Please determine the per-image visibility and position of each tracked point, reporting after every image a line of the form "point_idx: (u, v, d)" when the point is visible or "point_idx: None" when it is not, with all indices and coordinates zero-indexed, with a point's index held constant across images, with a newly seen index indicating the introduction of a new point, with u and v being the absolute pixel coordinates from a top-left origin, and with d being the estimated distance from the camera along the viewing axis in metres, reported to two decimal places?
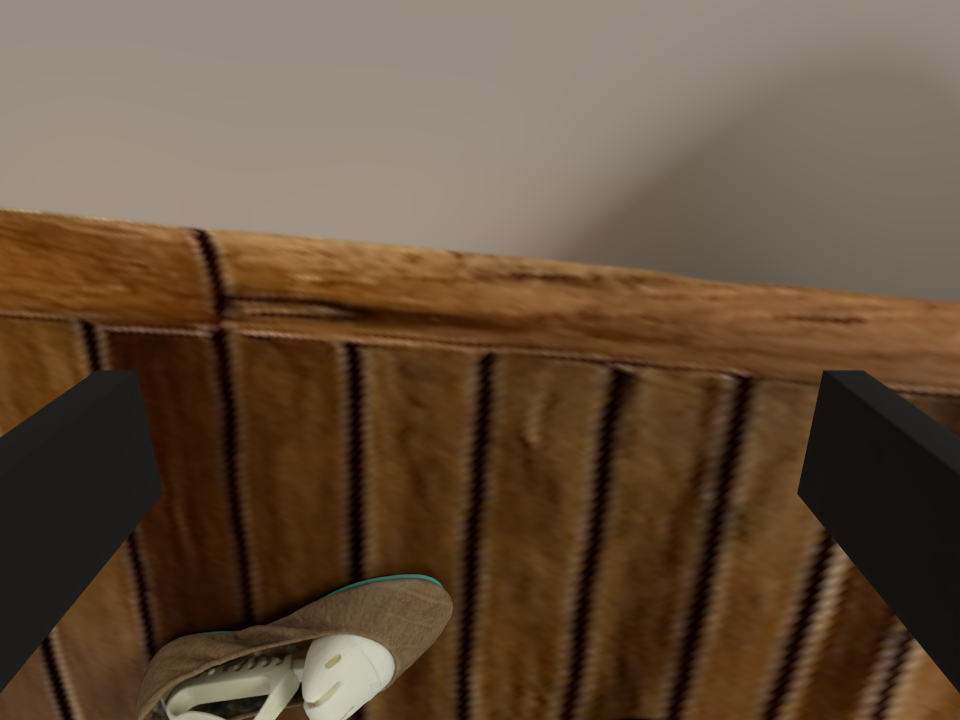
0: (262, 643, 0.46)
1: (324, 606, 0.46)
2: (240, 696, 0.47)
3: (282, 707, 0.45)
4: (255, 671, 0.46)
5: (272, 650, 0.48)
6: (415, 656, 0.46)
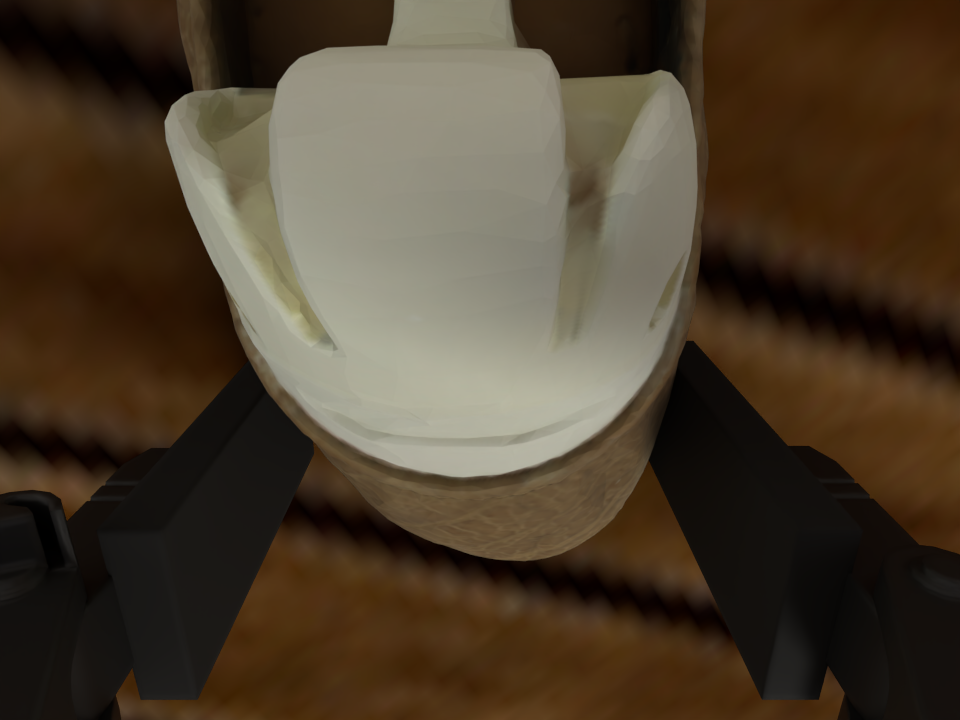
0: None
1: None
2: None
3: None
4: None
5: None
6: (394, 509, 0.11)
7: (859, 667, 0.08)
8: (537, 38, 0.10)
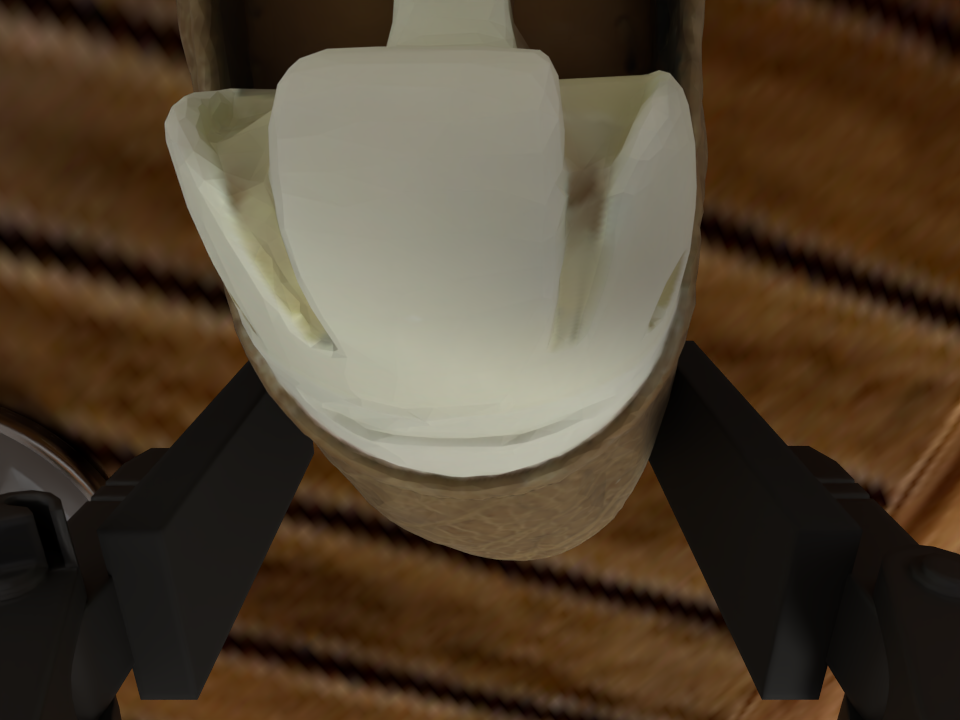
0: None
1: None
2: None
3: None
4: None
5: None
6: (394, 509, 0.11)
7: (859, 667, 0.08)
8: (536, 38, 0.10)
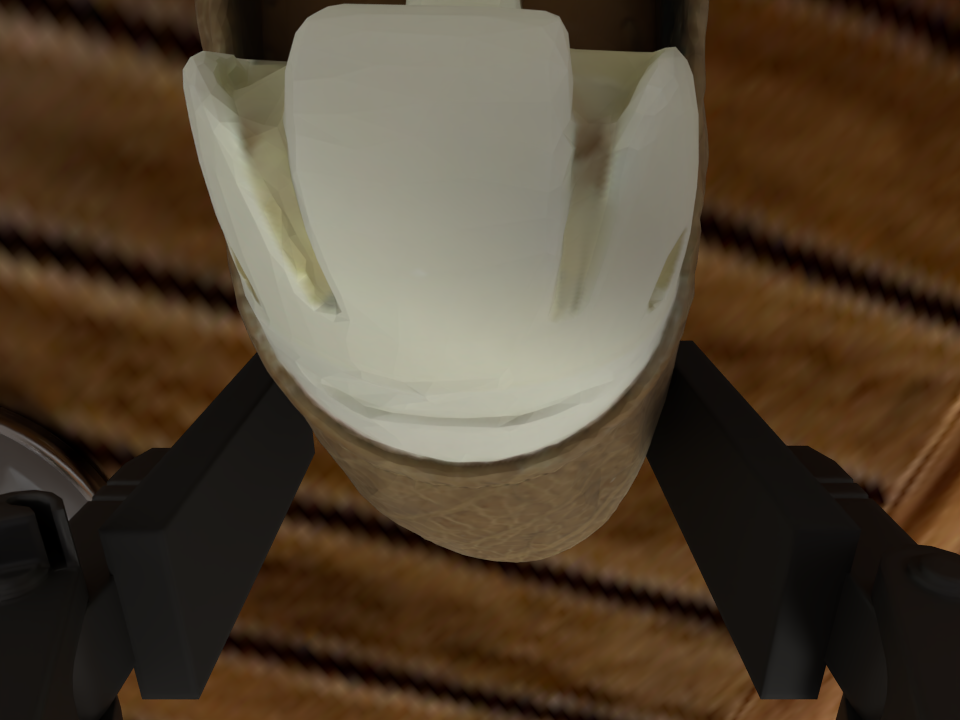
0: None
1: None
2: None
3: None
4: None
5: None
6: (388, 498, 0.11)
7: (857, 667, 0.08)
8: None
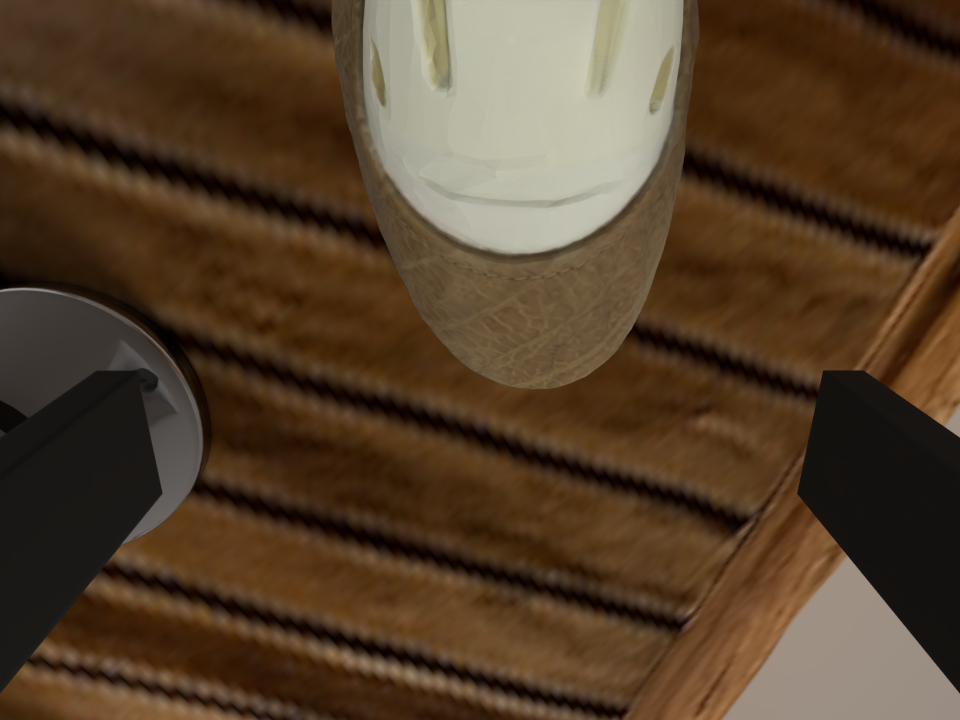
0: None
1: None
2: None
3: None
4: None
5: None
6: (451, 297, 0.14)
7: None
8: None
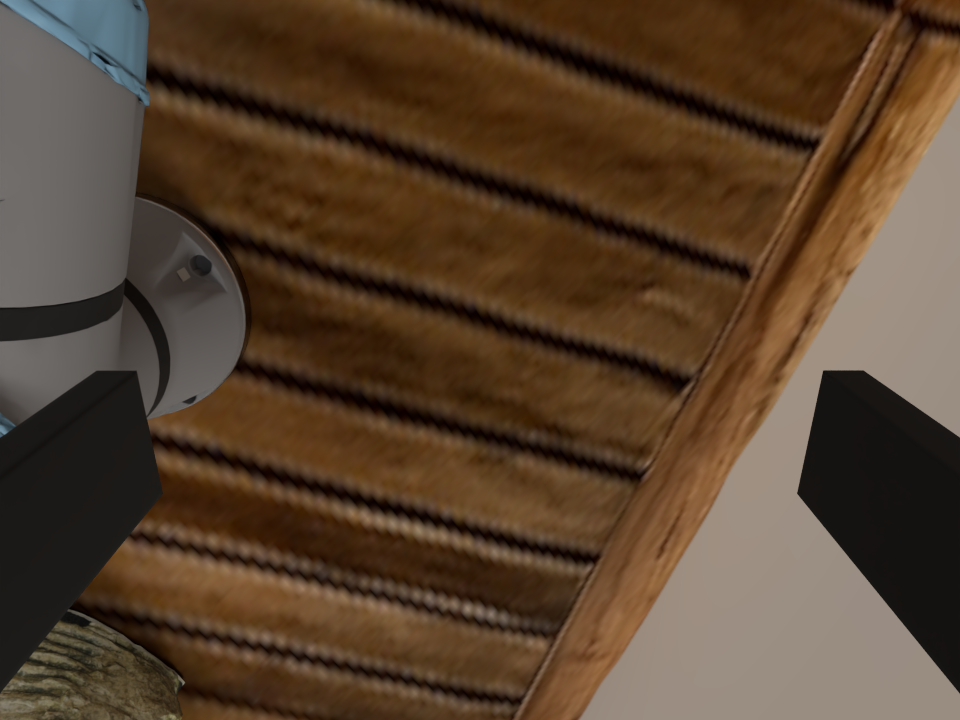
0: None
1: None
2: None
3: None
4: None
5: None
6: None
7: None
8: None
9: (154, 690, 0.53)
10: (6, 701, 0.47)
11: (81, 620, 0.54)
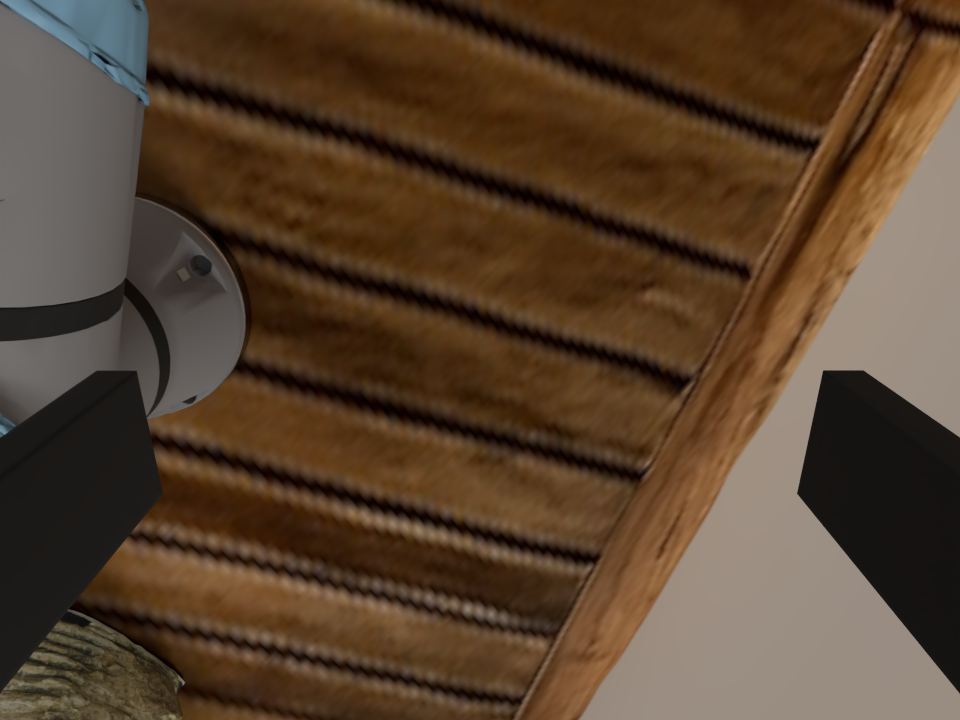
0: None
1: None
2: None
3: None
4: None
5: None
6: None
7: None
8: None
9: (154, 690, 0.53)
10: (6, 701, 0.47)
11: (81, 620, 0.54)
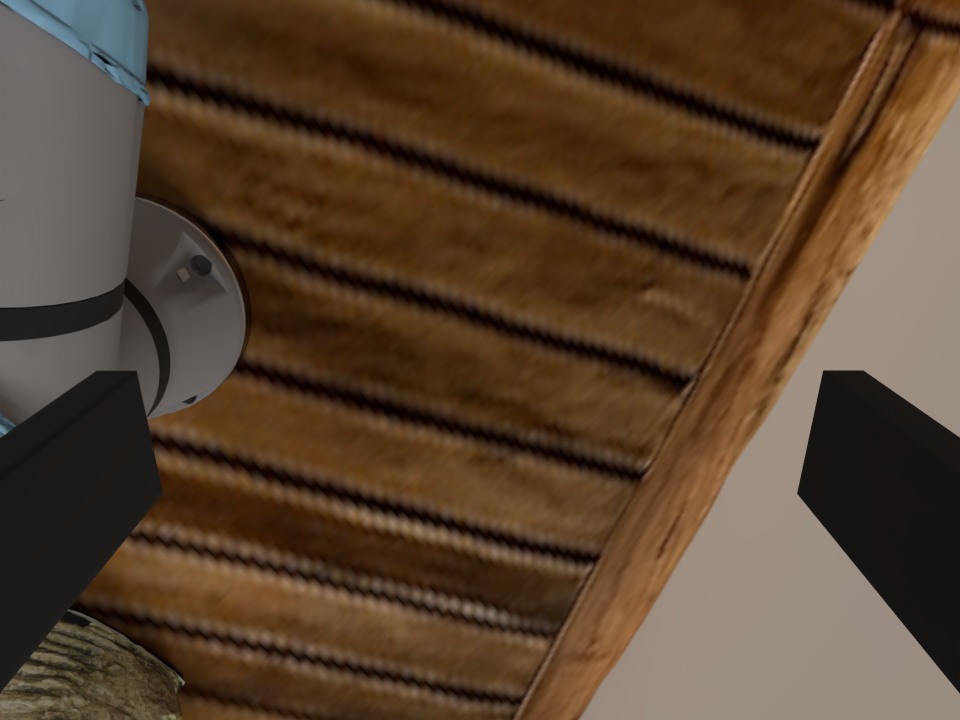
0: None
1: None
2: None
3: None
4: None
5: None
6: None
7: None
8: None
9: (154, 690, 0.53)
10: (6, 701, 0.47)
11: (81, 620, 0.54)
